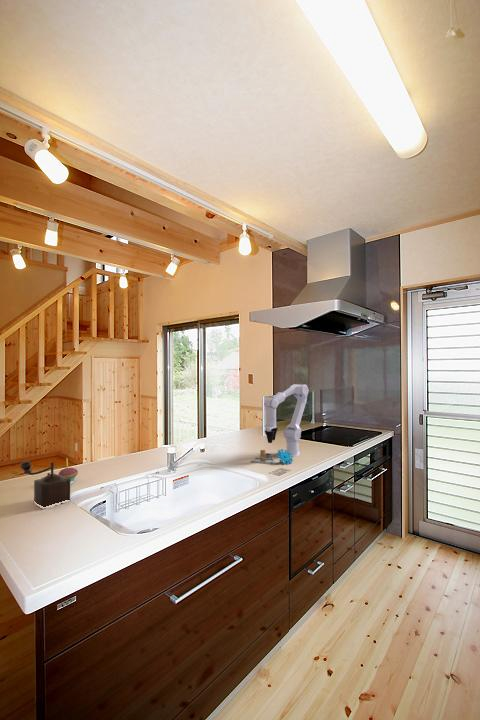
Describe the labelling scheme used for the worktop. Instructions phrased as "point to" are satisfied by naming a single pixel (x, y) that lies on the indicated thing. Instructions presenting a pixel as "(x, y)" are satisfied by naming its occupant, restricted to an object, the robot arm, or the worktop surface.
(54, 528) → the worktop surface
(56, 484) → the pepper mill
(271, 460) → the grey tray
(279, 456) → the gear
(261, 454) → the oak pin
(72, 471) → the cupcake
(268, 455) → the charcoal cup
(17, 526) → the worktop surface
